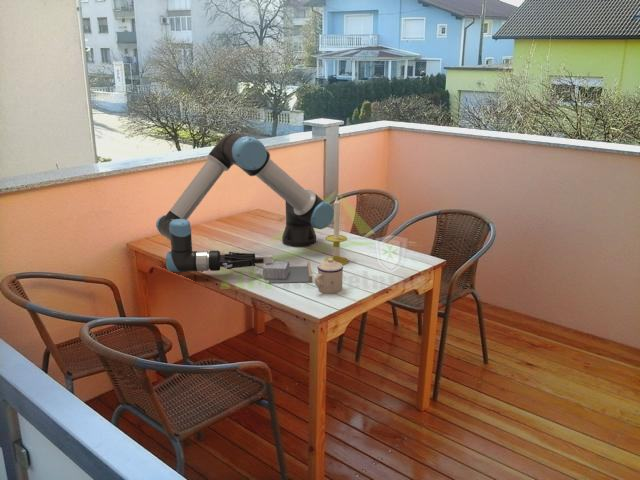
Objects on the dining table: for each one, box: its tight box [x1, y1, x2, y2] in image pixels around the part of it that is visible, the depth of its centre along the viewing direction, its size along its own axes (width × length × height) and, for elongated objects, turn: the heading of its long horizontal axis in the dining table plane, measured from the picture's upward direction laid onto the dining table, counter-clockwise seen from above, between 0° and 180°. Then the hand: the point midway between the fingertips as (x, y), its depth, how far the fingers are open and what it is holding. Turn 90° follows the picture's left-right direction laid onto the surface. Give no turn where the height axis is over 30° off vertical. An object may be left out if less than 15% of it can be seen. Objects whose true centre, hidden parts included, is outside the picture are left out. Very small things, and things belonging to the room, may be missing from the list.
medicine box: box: [262, 260, 290, 280], centre depth 222 cm, size 8×4×9 cm
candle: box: [323, 197, 349, 266], centre depth 235 cm, size 10×10×27 cm
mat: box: [268, 260, 313, 285], centre depth 224 cm, size 16×16×2 cm
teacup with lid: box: [314, 257, 344, 295], centre depth 208 cm, size 12×9×12 cm
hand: (272, 259), depth 222 cm, fingers closed
